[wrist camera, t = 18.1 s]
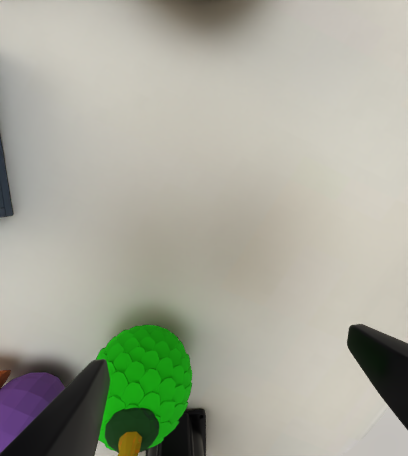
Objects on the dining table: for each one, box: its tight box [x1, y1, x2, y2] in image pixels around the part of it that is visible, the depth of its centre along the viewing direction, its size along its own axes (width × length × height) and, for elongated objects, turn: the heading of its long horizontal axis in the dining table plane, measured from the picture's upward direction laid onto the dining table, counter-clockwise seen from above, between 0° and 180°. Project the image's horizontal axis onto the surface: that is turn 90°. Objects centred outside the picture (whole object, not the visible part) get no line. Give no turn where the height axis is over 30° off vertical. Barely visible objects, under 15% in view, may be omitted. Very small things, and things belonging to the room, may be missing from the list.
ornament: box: [96, 325, 192, 456], centre depth 16 cm, size 8×8×10 cm
